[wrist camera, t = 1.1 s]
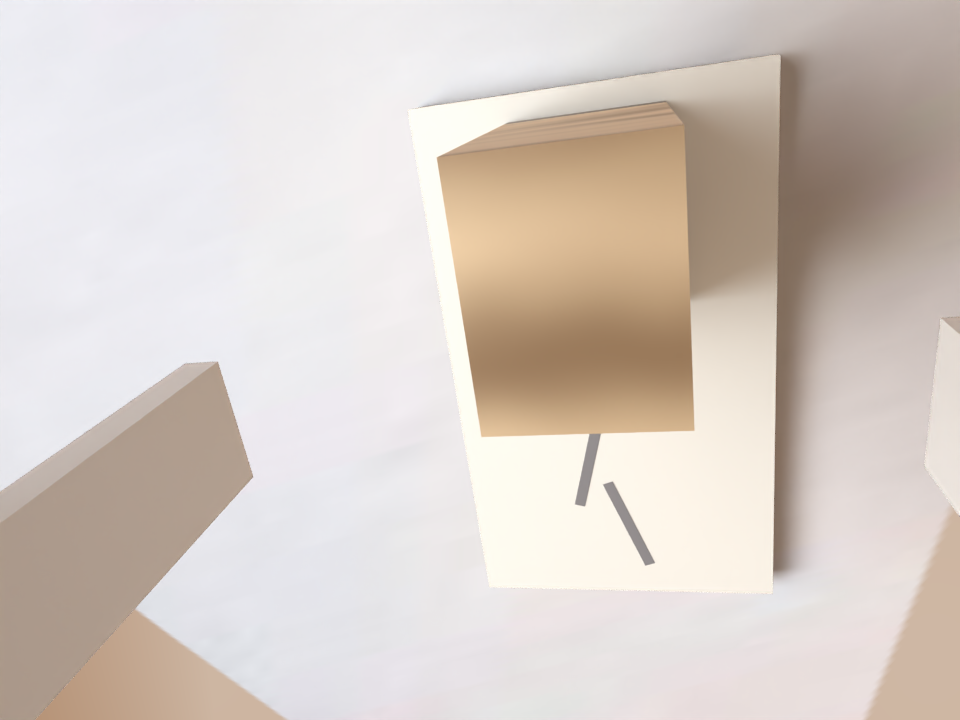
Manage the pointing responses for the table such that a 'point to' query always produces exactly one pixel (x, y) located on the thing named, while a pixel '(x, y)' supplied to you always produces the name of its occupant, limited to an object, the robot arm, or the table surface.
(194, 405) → the robot arm
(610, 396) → the block
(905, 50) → the table surface
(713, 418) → the board
